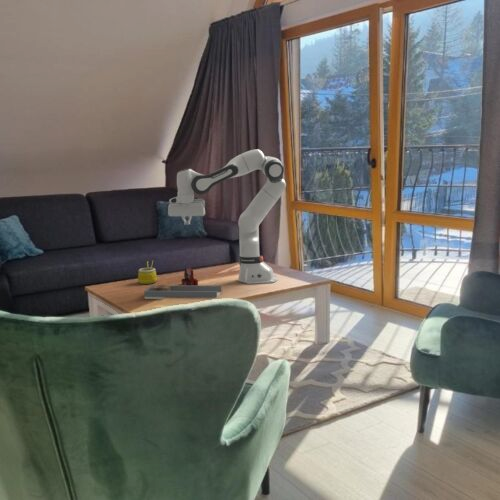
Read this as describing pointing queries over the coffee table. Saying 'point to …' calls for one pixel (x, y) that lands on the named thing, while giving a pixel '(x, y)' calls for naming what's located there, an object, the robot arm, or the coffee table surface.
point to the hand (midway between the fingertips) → (187, 224)
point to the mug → (147, 275)
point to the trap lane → (184, 292)
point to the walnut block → (161, 288)
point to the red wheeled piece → (189, 277)
